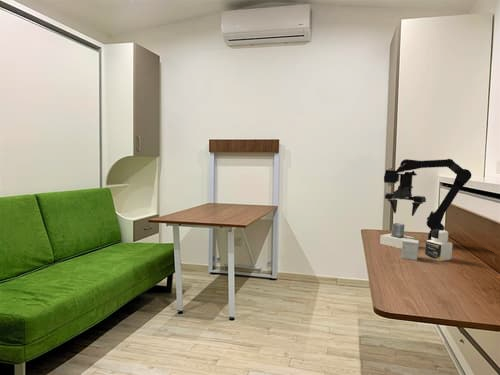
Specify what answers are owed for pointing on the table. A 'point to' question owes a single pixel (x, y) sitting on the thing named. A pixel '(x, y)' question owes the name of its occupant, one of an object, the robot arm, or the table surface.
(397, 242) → the socket block
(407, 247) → the product box
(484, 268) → the table surface
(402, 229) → the peg
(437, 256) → the medicine bottle
